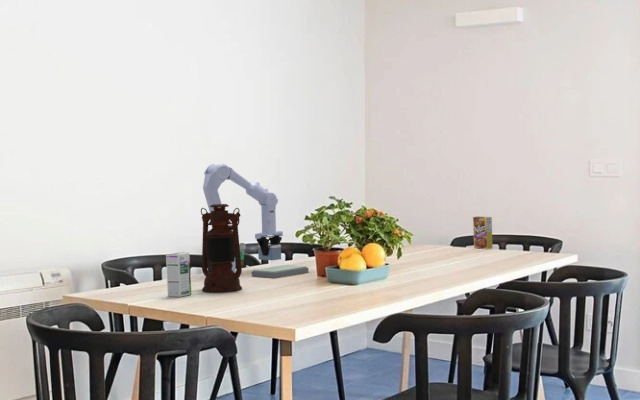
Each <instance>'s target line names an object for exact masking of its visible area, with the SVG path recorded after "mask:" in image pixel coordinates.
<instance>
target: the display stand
mask: <svg viewBox="0 0 640 400" xmlns="http://www.w3.org/2000/svg"><path fill="white" fill-rule="evenodd" d="M309 272H310V271H309V267H308V266H305V265H295V264H294V265H290V264H284V265H278V266H271V267H265V268H264V267H263V268H259V269H252V271H251V277H252V276H253V277H252V278H264V279H265V278H267V279H279V278H284V277H289V276H290V277H291V276H295V275H303V274H308V273H309Z"/></svg>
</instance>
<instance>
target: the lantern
mask: <svg viewBox="0 0 640 400" xmlns="http://www.w3.org/2000/svg"><path fill="white" fill-rule="evenodd" d="M210 207H214V208H213V209H214V211H211V213H210V212H208V210H207V209H206V208H205V207H202V208H201V209H200V215H201V220H202V242H201V243H202V247H201V248H202V251H201V252H202V253H201V271H202V273H203V276H205V278H204V281H203V287H202V289H201V290H202V292H203V293H210V294H211V293H213V294H221V293H222V294H223V293H235V292H238V291H242V290H243V287H242V286H241V281H240V277H241V275H242V272H243V268H242V267H241V256H240V246H239V245H240V237H239V236H240V235H239V224H240V221H241V220H240V217H241V214H240V208H239V207H236V208H234V210H233V212H232V213H231V212H229V210H226V208H227V207H229V204H227V203H221V204H213V205H211V206H210ZM218 207H221V208H218ZM202 210H205V213H203V211H202ZM236 210H237V212H236V213H235V211H236ZM209 226H211V229H209ZM234 261H235V262H236V269H235V273H234V272H233V270H232V266H233V265H232V262H234ZM208 264H210V265H209V267H210V271H209V270H208Z"/></svg>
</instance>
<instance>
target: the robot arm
mask: <svg viewBox="0 0 640 400" xmlns="http://www.w3.org/2000/svg"><path fill="white" fill-rule="evenodd" d="M203 174H204V178H203V179H204V180H203V185H202V190H203V193H204V197H205V200H206V204H207V208H208V211H209V213H211V211H214V209H213V208H214V207H210V206H211V205H213V204H222V201H221V197H220V194H219V191H218V190H219V189H220V187H221V185H222V184H223V183H225V181H227V180H228V181H229V180H230V181H231V182H233V183H235V184H236V185H238V186H239V187H242V189H244V190H245V192H246V194H247V195H248V196H249V197H251V198H253V199H254V200H255V201H257V203H258V204H259V206H260V207H261V209H260V210H261V212H260V213H261V232H259V233H255V234H254V239H255V240H256V242H257V243H258V244H257V245H259V246H260V248H261V251H262V255H263V256H267V254H268V244H279V245H281V244H280V243H281V241H282V239H283V238H282V237H283V236H284V235H283V234H284V233H283V230H281V231H280V230H278V231H277V222H276V221H277V218H276V214H277V213H276V208H277V207H276V206H277V204H278V203H279V199H278V197H277V196H276V195H277V194H275V193H274V192H269V189H268V188H264V187H262V186H261V185H260V182H259V181H256V182H255V181H252V182H251V181H249V180H248V179H246V177H243V176H242V175H241V174H240V173H238V172H237V171H235V169H233V167H230V166H228V165H227V164H224V163H221V164H214V163H213V164H209V165H208V166H207V167H206V169H205V171H204V172H203ZM218 208H221V207H218ZM232 265H233V266H232V270H233V272H234V273H235V272H236V269H235V261H234V262H232Z"/></svg>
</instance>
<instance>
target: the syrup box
mask: <svg viewBox="0 0 640 400" xmlns="http://www.w3.org/2000/svg"><path fill="white" fill-rule="evenodd" d="M190 258H191V257H190V252H187V251H186V252H185V251H180V252H179V251H178V252H172V253H167V254H165V262H166V279H167V280H166V281H167V282H166V283H167V296H168V297H172V298H173V297H174V298H182V297H186V296H191V295H192V283H191V282H192V281H191V259H190Z"/></svg>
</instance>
